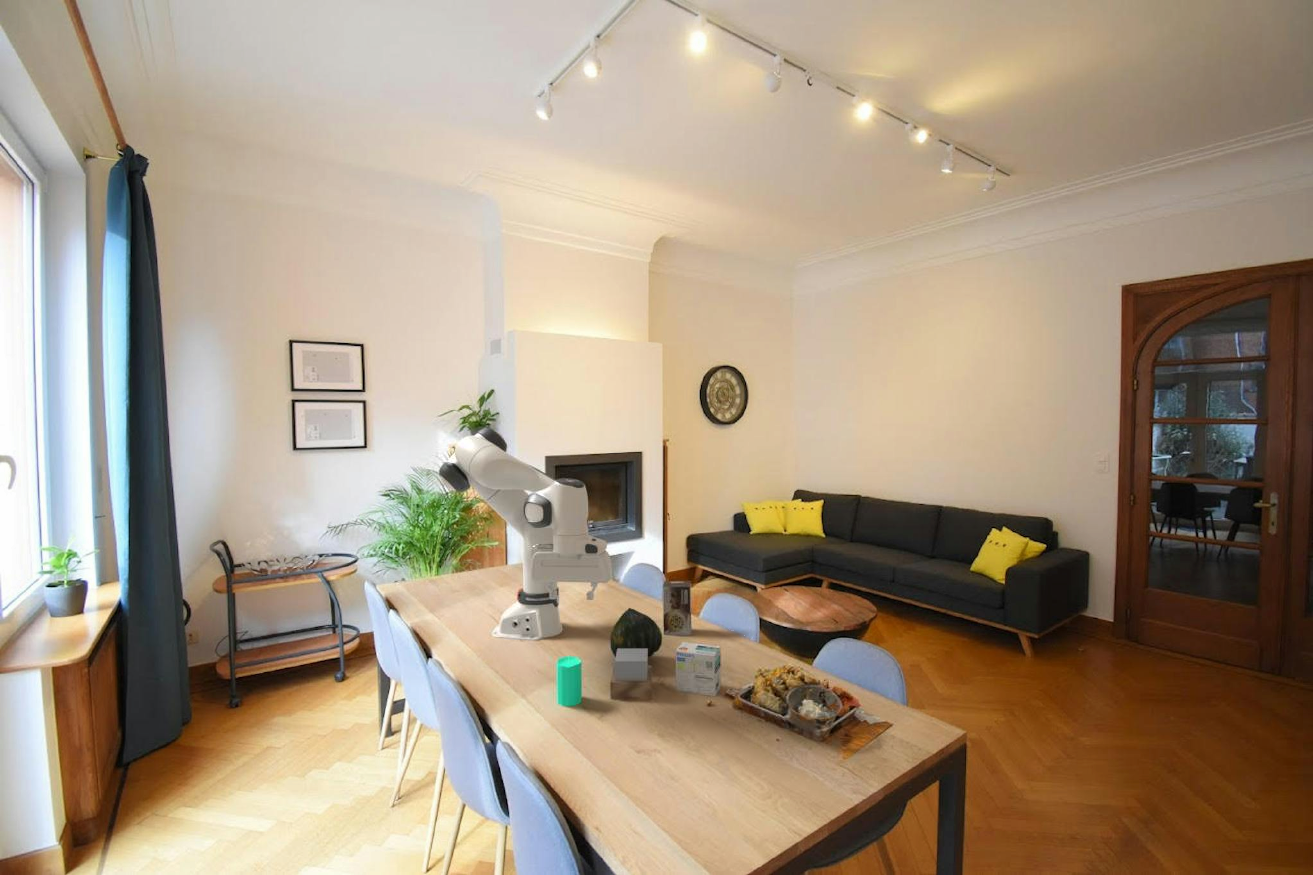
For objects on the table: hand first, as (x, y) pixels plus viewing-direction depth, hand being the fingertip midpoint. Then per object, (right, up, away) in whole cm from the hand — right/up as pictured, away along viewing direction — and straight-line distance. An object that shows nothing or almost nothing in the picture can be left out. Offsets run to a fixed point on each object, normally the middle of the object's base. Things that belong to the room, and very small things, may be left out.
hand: (571, 599), depth 146 cm
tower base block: (+15, -25, +4) cm, 29 cm away
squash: (+15, -24, +21) cm, 36 cm away
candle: (0, -25, -2) cm, 25 cm away
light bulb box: (+32, -25, +5) cm, 41 cm away
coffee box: (+28, -24, +45) cm, 58 cm away
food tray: (+54, -26, -9) cm, 61 cm away
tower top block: (+15, -20, +3) cm, 25 cm away
